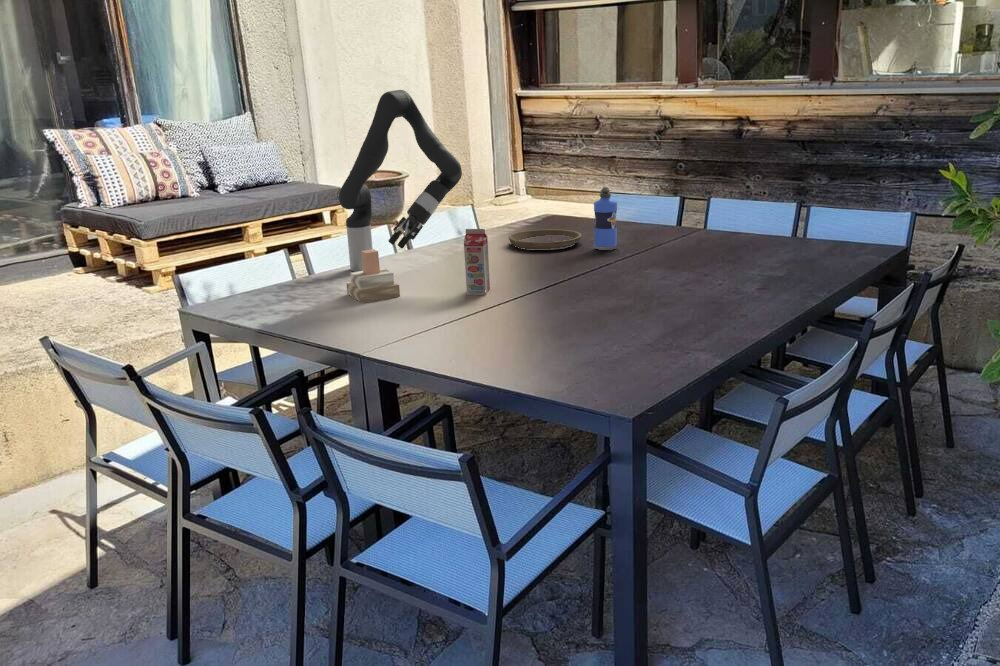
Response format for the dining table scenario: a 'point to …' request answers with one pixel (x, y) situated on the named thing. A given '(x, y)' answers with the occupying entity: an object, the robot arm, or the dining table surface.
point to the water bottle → (605, 220)
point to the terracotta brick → (370, 262)
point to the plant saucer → (543, 245)
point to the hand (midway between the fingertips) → (395, 245)
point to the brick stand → (372, 286)
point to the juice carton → (476, 262)
